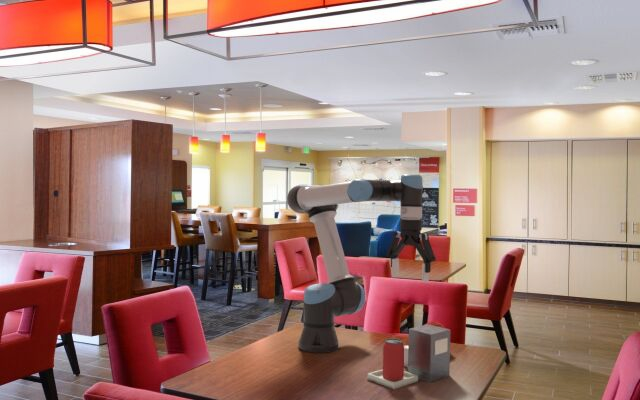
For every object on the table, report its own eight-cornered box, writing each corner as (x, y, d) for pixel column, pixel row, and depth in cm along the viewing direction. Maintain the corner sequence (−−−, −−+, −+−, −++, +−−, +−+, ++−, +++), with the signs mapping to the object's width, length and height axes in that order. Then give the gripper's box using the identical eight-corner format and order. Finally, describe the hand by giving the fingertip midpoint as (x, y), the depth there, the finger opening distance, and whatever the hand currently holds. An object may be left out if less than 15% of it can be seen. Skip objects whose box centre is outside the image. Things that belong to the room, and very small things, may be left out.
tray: (367, 379, 178) (367, 373, 178) (391, 372, 185) (391, 366, 185) (394, 389, 169) (394, 383, 169) (417, 381, 177) (418, 375, 177)
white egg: (398, 364, 194) (399, 347, 193) (408, 361, 197) (408, 344, 197) (410, 368, 190) (410, 350, 190) (419, 365, 193) (420, 347, 193)
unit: (406, 374, 183) (407, 328, 183) (426, 368, 190) (427, 324, 189) (430, 382, 176) (431, 334, 176) (450, 375, 182) (451, 329, 182)
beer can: (403, 383, 173) (403, 344, 173) (381, 381, 174) (382, 342, 174) (404, 376, 180) (404, 338, 179) (383, 374, 181) (384, 337, 181)
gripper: (377, 217, 203) (376, 275, 204) (433, 221, 185) (431, 285, 185) (391, 216, 208) (390, 273, 209) (447, 220, 190) (445, 283, 190)
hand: (409, 279), depth 197 cm, fingers open, 13 cm apart
